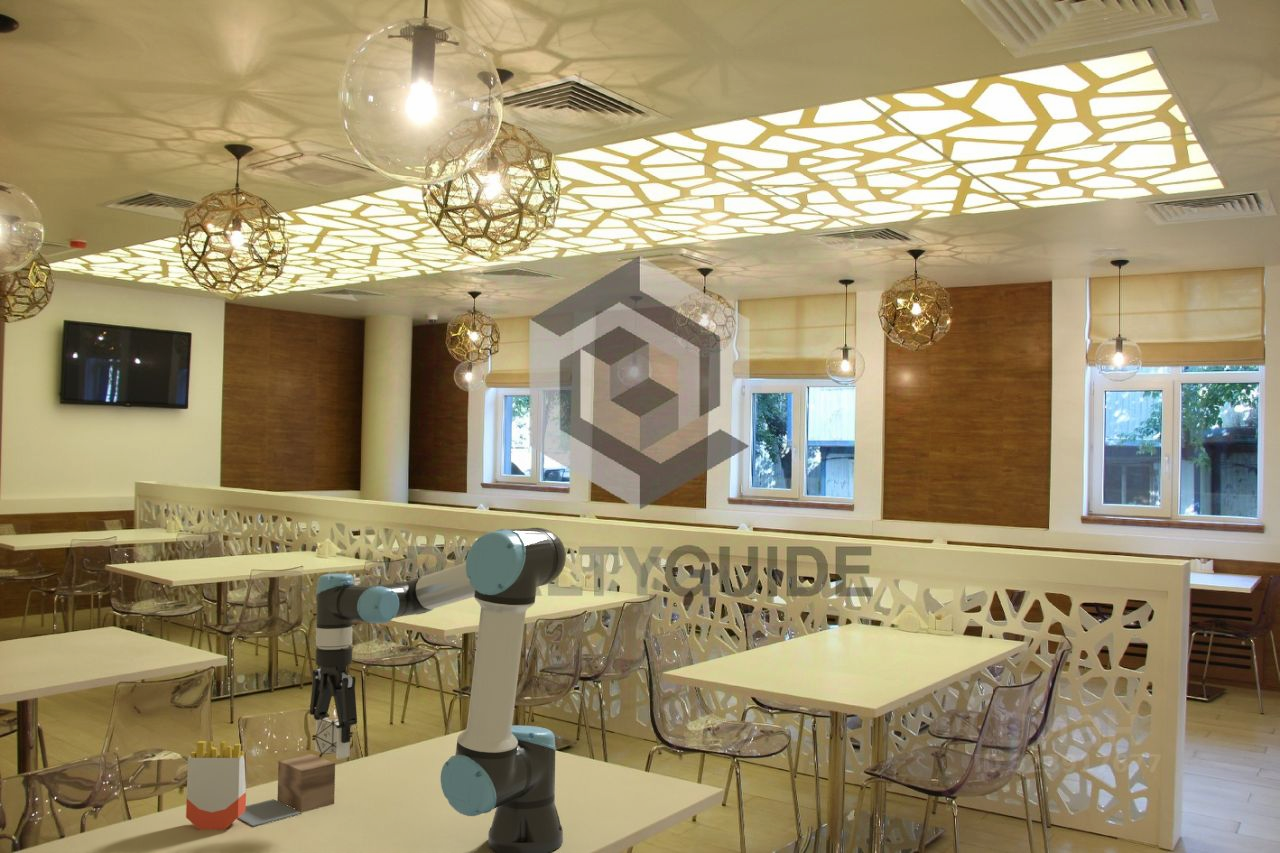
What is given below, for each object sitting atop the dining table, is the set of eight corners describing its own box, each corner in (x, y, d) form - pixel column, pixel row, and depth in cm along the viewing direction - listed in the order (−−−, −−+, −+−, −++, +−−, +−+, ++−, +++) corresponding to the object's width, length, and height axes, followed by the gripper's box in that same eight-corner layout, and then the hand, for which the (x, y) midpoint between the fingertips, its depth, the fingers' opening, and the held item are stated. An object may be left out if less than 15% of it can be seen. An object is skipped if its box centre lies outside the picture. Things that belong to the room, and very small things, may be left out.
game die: (336, 774, 206) (337, 744, 201) (302, 758, 208) (302, 727, 203) (361, 744, 214) (362, 714, 208) (328, 728, 216) (329, 698, 210)
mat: (301, 813, 214) (301, 812, 214) (253, 826, 206) (253, 825, 206) (273, 800, 223) (273, 799, 223) (225, 812, 214) (225, 810, 214)
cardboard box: (334, 803, 221) (335, 763, 221) (301, 812, 215) (302, 771, 215) (309, 792, 228) (310, 753, 229) (277, 800, 222) (278, 760, 223)
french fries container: (195, 821, 209) (197, 736, 210) (245, 821, 209) (248, 736, 210) (185, 829, 204) (188, 742, 205) (237, 829, 204) (239, 742, 205)
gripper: (376, 649, 205) (374, 759, 204) (325, 638, 219) (323, 741, 218) (344, 654, 200) (342, 767, 198) (294, 642, 214) (291, 748, 212)
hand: (332, 753), depth 208 cm, fingers closed on game die, 8 cm apart
